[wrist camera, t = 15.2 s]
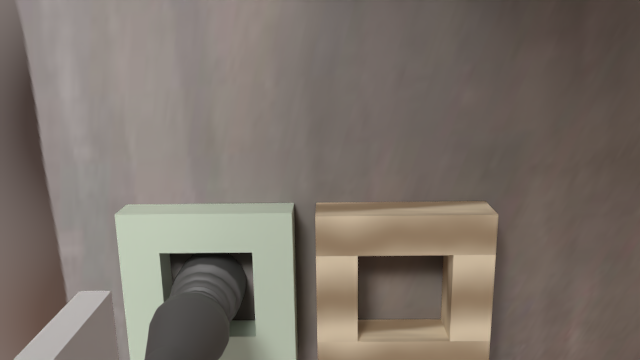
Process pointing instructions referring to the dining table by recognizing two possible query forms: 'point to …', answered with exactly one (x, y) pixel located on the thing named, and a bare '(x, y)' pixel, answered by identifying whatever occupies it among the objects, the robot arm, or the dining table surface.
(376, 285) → the dining table surface
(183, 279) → the candle holder
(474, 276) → the birch collar
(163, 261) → the green collar
